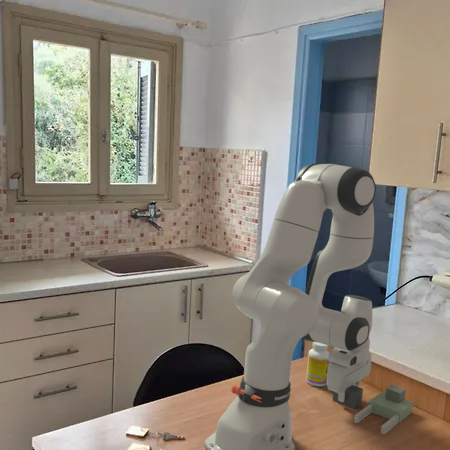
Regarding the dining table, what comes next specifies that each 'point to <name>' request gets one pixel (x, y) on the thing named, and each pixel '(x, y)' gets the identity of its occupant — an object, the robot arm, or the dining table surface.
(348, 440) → the dining table surface
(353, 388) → the grey rectangular block
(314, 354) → the supplement bottle
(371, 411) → the two-prong power plug
